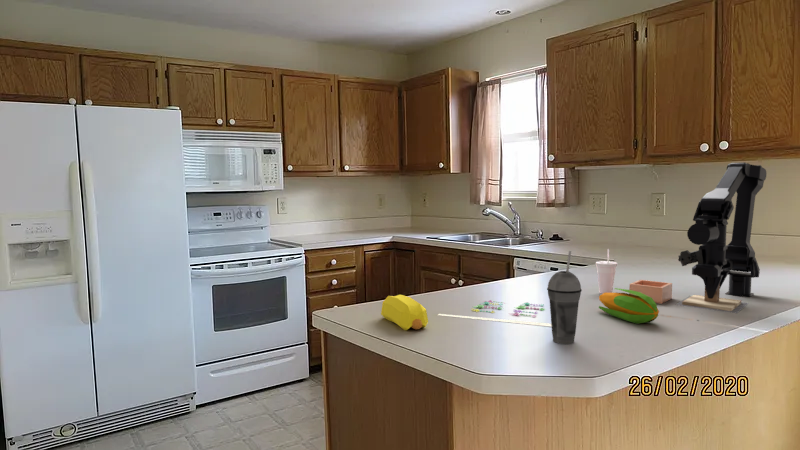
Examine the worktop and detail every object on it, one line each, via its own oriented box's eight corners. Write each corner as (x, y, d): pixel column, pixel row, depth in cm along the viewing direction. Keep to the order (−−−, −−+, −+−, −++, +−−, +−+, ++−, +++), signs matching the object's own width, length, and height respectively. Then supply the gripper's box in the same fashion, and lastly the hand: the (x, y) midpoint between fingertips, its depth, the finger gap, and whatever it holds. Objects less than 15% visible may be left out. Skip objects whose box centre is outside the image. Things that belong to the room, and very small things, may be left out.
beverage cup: (541, 336, 122) (542, 249, 120) (572, 335, 122) (574, 248, 121) (553, 346, 115) (554, 253, 113) (586, 345, 115) (588, 252, 114)
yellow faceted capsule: (404, 334, 126) (433, 330, 129) (404, 306, 125) (433, 303, 128) (376, 317, 142) (403, 314, 145) (376, 292, 141) (403, 289, 144)
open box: (639, 295, 164) (640, 279, 163) (671, 300, 158) (672, 283, 157) (629, 300, 157) (629, 284, 157) (661, 305, 151) (662, 287, 151)
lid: (693, 297, 159) (694, 277, 158) (741, 303, 150) (742, 282, 150) (682, 304, 150) (682, 283, 149) (731, 311, 142) (732, 289, 141)
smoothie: (618, 295, 165) (619, 250, 163) (596, 294, 166) (597, 249, 165) (614, 291, 171) (615, 247, 170) (593, 290, 172) (594, 247, 171)
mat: (689, 297, 161) (689, 295, 161) (748, 304, 151) (748, 303, 151) (674, 306, 150) (674, 304, 150) (736, 314, 140) (736, 313, 140)
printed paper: (437, 316, 143) (437, 310, 143) (471, 296, 170) (471, 291, 170) (552, 328, 130) (552, 322, 130) (570, 304, 157) (570, 299, 157)
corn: (643, 297, 127) (588, 282, 146) (641, 328, 128) (586, 310, 147) (668, 296, 130) (610, 282, 149) (665, 327, 130) (608, 309, 149)
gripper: (691, 237, 161) (689, 288, 162) (672, 242, 147) (670, 299, 149) (734, 239, 154) (732, 293, 155) (718, 245, 140) (716, 304, 141)
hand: (711, 297), depth 150 cm, fingers closed on lid, 3 cm apart
